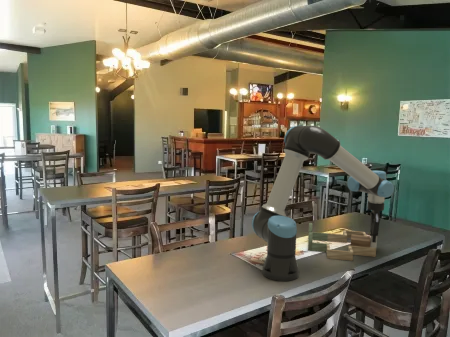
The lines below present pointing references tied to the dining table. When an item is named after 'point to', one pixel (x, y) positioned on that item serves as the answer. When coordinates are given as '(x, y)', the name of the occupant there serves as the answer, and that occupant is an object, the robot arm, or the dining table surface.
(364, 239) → the block
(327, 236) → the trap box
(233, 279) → the dining table surface
